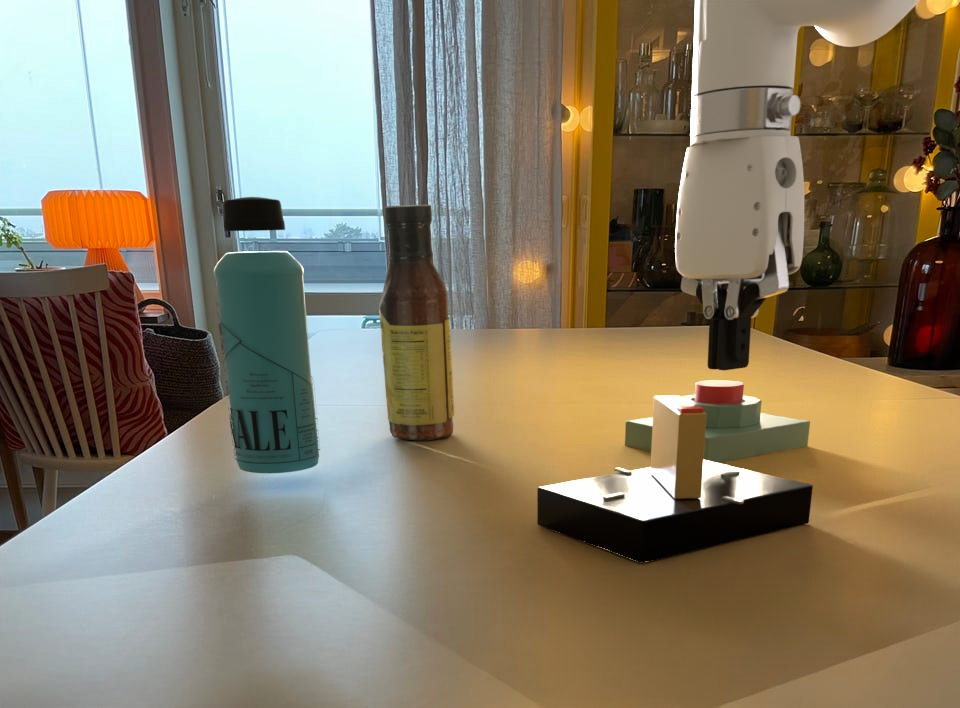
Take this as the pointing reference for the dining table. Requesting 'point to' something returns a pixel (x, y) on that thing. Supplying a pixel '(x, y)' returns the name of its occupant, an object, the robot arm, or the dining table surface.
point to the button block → (732, 431)
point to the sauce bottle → (415, 331)
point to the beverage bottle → (266, 347)
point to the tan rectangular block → (678, 446)
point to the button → (719, 392)
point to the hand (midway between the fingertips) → (727, 367)
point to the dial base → (672, 510)
